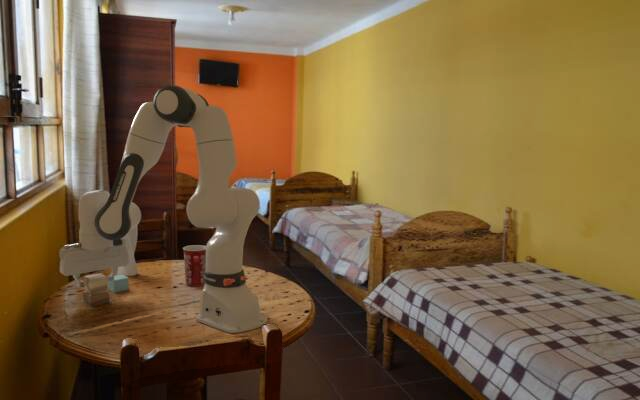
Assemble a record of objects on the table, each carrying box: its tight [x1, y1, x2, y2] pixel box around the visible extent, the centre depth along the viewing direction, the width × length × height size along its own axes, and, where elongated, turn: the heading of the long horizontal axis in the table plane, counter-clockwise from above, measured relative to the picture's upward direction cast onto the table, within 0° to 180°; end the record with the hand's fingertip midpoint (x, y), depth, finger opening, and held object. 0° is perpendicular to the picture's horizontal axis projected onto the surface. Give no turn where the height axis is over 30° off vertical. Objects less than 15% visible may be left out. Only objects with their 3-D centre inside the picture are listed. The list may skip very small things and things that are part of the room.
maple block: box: [84, 272, 108, 295], centre depth 159 cm, size 5×5×5 cm
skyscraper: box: [116, 225, 139, 277], centre depth 188 cm, size 8×8×28 cm
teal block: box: [107, 274, 130, 294], centre depth 171 cm, size 5×5×5 cm
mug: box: [182, 244, 206, 287], centre depth 180 cm, size 13×9×14 cm
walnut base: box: [82, 290, 111, 306], centre depth 160 cm, size 6×6×3 cm
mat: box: [80, 299, 112, 307], centre depth 160 cm, size 12×10×1 cm
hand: (95, 283), depth 159 cm, fingers open, 8 cm apart
